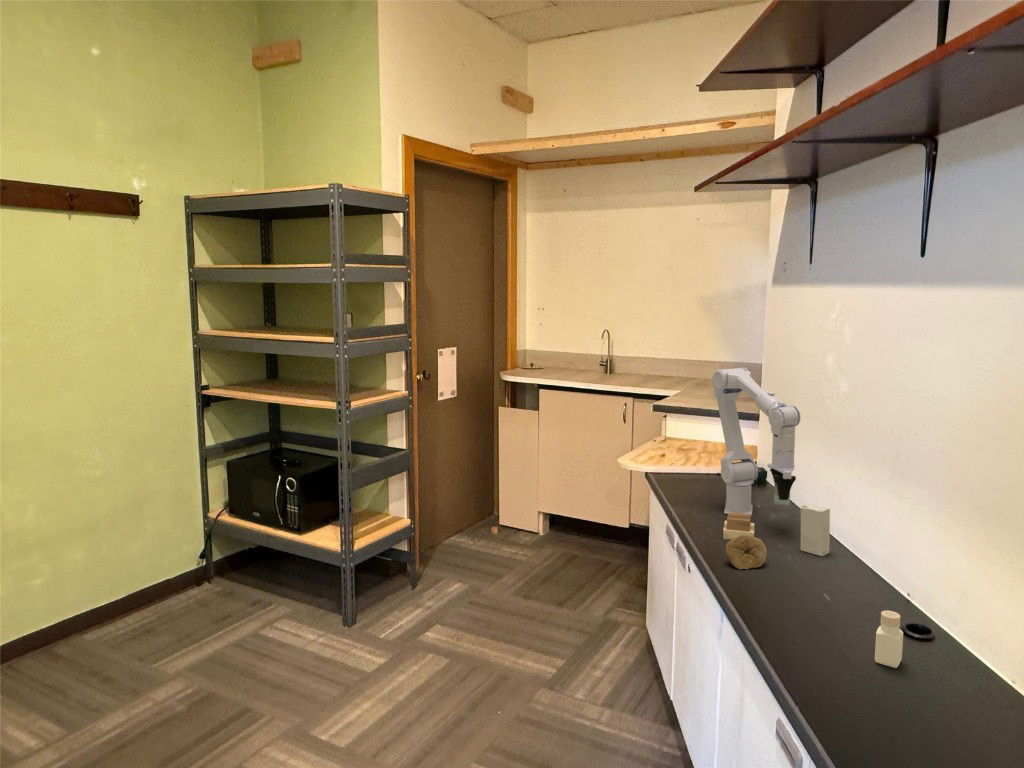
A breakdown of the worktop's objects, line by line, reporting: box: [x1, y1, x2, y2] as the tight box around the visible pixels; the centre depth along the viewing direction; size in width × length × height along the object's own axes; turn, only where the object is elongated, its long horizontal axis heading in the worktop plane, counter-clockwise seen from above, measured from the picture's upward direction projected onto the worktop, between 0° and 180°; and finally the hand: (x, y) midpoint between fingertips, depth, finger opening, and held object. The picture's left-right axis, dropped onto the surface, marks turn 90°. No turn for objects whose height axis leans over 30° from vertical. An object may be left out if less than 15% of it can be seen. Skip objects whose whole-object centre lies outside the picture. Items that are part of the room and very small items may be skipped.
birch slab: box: [722, 520, 755, 541], centre depth 199 cm, size 8×8×3 cm
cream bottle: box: [874, 610, 904, 669], centre depth 133 cm, size 4×4×10 cm
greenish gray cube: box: [773, 483, 791, 506], centre depth 200 cm, size 4×4×5 cm
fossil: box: [725, 535, 768, 570], centre depth 180 cm, size 9×4×10 cm
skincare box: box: [800, 503, 831, 557], centre depth 186 cm, size 6×4×12 cm
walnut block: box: [726, 512, 752, 532], centre depth 199 cm, size 6×6×3 cm
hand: (781, 496), depth 200 cm, fingers closed on greenish gray cube, 4 cm apart
